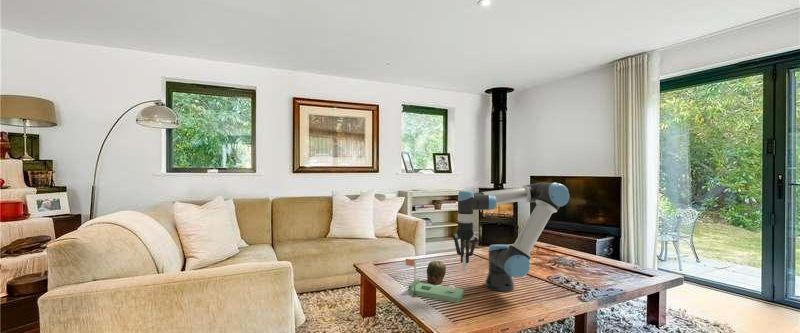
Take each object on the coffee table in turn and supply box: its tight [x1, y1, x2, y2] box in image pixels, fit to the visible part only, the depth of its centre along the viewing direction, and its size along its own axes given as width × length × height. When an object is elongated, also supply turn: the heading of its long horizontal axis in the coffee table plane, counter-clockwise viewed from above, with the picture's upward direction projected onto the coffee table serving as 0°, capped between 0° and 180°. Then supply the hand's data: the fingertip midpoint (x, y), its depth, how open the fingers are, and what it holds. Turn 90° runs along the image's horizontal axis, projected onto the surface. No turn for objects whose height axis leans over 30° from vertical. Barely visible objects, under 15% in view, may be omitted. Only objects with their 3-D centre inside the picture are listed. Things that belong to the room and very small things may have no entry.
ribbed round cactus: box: [426, 260, 447, 285], centre depth 190 cm, size 11×11×12 cm
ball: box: [447, 284, 456, 292], centre depth 168 cm, size 4×4×4 cm
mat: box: [408, 278, 465, 303], centre depth 171 cm, size 26×12×4 cm, turn 65°
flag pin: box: [405, 258, 418, 298], centre depth 169 cm, size 6×2×19 cm, turn 65°
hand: (464, 269), depth 165 cm, fingers closed
